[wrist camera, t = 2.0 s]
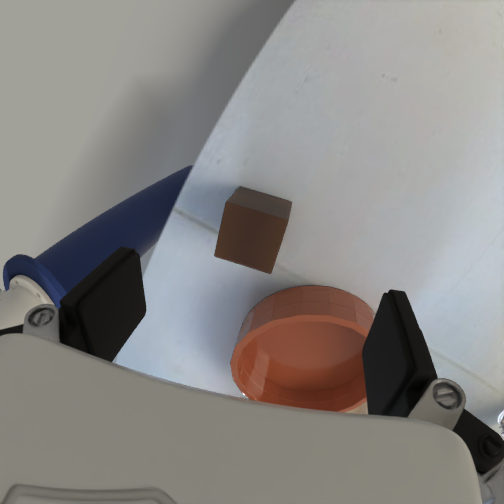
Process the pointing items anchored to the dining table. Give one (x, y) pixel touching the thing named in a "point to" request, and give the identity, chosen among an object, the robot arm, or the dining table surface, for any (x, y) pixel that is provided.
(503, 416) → the decorative candle
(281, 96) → the dining table surface
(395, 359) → the robot arm
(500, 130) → the dining table surface
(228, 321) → the dining table surface
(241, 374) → the bowl
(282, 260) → the dining table surface
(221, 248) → the block
